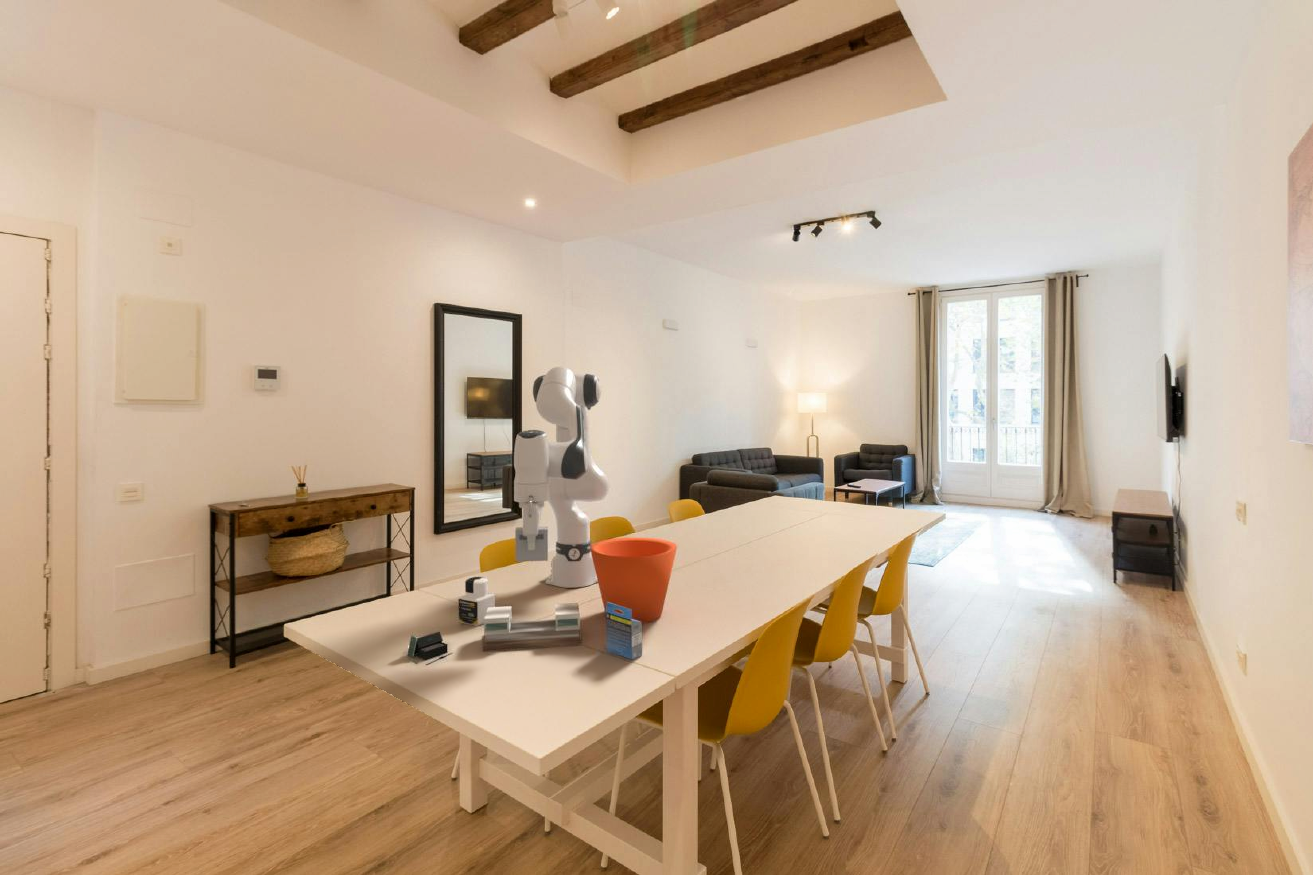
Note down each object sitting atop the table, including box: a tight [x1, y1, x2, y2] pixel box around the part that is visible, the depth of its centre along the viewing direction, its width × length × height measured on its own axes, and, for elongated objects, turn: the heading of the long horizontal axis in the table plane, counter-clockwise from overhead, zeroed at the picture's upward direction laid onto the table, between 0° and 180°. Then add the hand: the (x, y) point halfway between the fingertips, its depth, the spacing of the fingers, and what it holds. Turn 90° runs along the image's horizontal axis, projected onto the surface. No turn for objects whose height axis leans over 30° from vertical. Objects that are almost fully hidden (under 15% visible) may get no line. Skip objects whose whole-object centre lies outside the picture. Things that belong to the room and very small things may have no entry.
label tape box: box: [605, 602, 643, 661], centre depth 150 cm, size 9×4×12 cm, turn 49°
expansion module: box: [514, 526, 549, 563], centre depth 159 cm, size 4×8×8 cm, turn 99°
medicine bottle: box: [457, 576, 496, 627], centre depth 173 cm, size 7×7×12 cm
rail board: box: [481, 602, 582, 652], centre depth 159 cm, size 12×24×8 cm, turn 99°
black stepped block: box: [406, 631, 453, 666], centre depth 150 cm, size 15×15×6 cm
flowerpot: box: [590, 536, 678, 625], centre depth 178 cm, size 25×25×20 cm
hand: (531, 547), depth 159 cm, fingers closed on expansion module, 4 cm apart
